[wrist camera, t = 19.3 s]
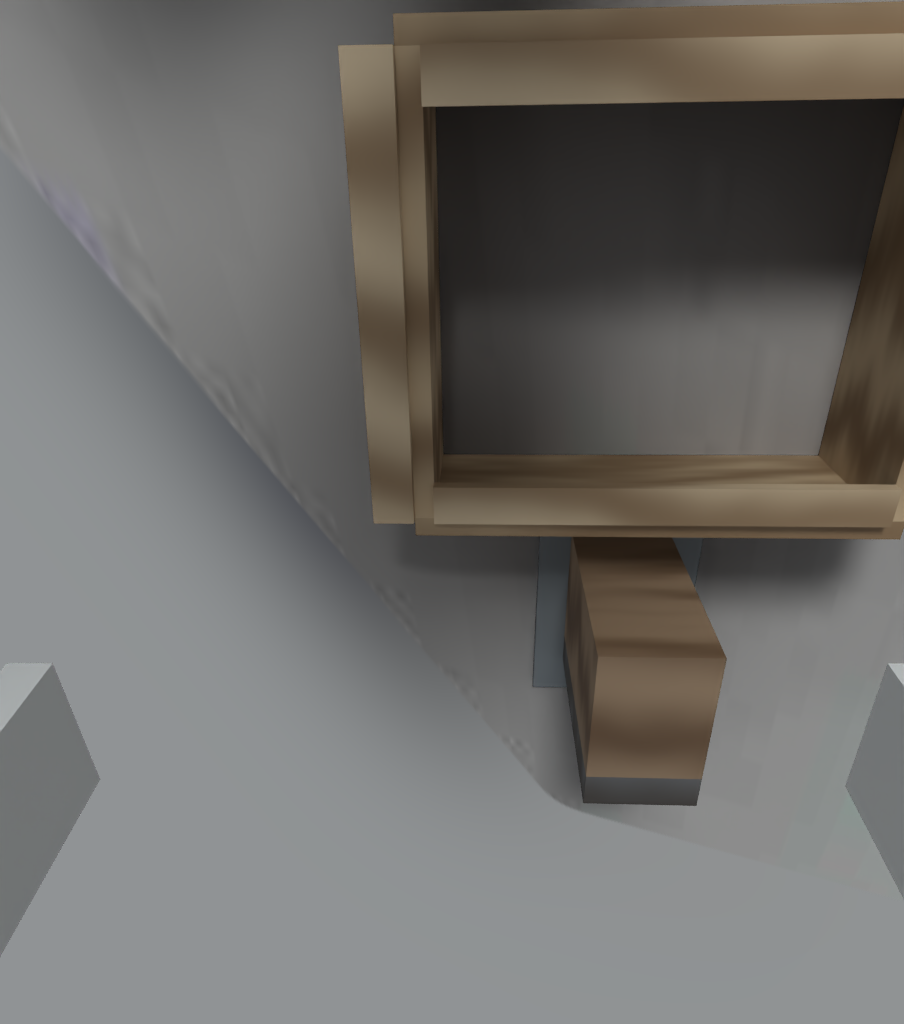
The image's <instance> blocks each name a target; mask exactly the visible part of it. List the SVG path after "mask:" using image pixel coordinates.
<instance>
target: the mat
mask: <svg viewBox="0 0 904 1024" xmlns="http://www.w3.org/2000/svg"><path fill="white" fill-rule="evenodd" d="M672 539H673V541H674V543H675V545H676V547H677V550H678V552H679V554H680V556H681V558H682V561H683V563H684V565H685V567H686V570H687V572H688V574H689V576H690V578H691V581H692V583H693V585H694V587H695V583H696V577H697V571H698V566H699V560H700V554H701V548H702V542H703V538H677V537H672ZM570 550H571V537H556V536H540V545H539V566H538V586H537V606H536V627H535V647H534V667H533V687H567V685H566V678H565V671H564V664H563V647H564V633H565V619H566V605H567V591H568V577H569V564H570Z"/></svg>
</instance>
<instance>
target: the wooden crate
mask: <svg viewBox="0 0 904 1024" xmlns="http://www.w3.org/2000/svg"><path fill="white" fill-rule="evenodd" d="M393 28H394V45H393V44H383V45H338V52H339V65H340V78H341V92H342V105H343V118H344V132H345V145H346V159H347V172H348V185H349V199H350V212H351V226H352V239H353V252H354V266H355V279H356V292H357V306H358V319H359V333H360V346H361V359H362V373H363V386H364V399H365V413H366V426H367V440H368V453H369V466H370V480H371V493H372V507H373V520H374V524H414V521H415V529H416V535H435V536H556V537H677V538H798V539H900V538H901V535H902V532H903V529H904V106H903V110H902V114H901V118H900V122H899V127H898V131H897V135H896V139H895V143H894V147H893V151H892V155H891V159H890V164H889V168H888V172H887V176H886V180H885V184H884V188H883V192H882V196H881V201H880V205H879V209H878V213H877V217H876V221H875V225H874V229H873V233H872V238H871V242H870V246H869V250H868V254H867V258H866V262H865V266H864V270H863V275H862V279H861V283H860V287H859V291H858V295H857V299H856V303H855V308H854V312H853V316H852V320H851V324H850V328H849V332H848V336H847V340H846V345H845V349H844V353H843V357H842V361H841V365H840V369H839V373H838V377H837V382H836V386H835V390H834V394H833V398H832V402H831V406H830V410H829V414H828V419H827V423H826V427H825V431H824V435H823V439H822V443H821V447H820V451H819V456H793V455H494V454H443V419H442V374H441V328H440V283H439V237H438V192H437V147H436V107H450V106H506V105H563V104H620V103H676V102H733V101H789V100H846V99H902V98H904V2H862V3H819V4H776V5H733V6H691V7H648V8H605V9H562V10H520V11H477V12H434V13H393Z"/></svg>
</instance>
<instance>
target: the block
mask: <svg viewBox="0 0 904 1024" xmlns="http://www.w3.org/2000/svg"><path fill="white" fill-rule="evenodd" d="M726 659H727V658H726V656H725V654H724V652H723V649H722V647H721V645H720V643H719V641H718V638H717V636H716V634H715V632H714V629H713V627H712V625H711V623H710V621H709V618H708V616H707V614H706V612H705V610H704V607H703V605H702V603H701V601H700V598H699V596H698V594H697V592H696V590H695V587H694V585H693V583H692V581H691V578H690V576H689V574H688V572H687V570H686V567H685V565H684V563H683V561H682V558H681V556H680V554H679V552H678V550H677V547H676V545H675V543H674V541H673V539H672V537H571V550H570V564H569V577H568V591H567V605H566V619H565V633H564V647H563V664H564V671H565V678H566V685H567V692H568V699H569V706H570V713H571V720H572V727H573V734H574V741H575V748H576V755H577V762H578V769H579V776H580V783H581V790H582V797H583V803H602V804H645V805H687V806H696V805H697V800H698V795H699V790H700V785H701V780H702V776H703V771H704V766H705V761H706V756H707V751H708V747H709V742H710V737H711V732H712V727H713V722H714V717H715V713H716V708H717V703H718V698H719V693H720V688H721V684H722V679H723V674H724V669H725V664H726Z"/></svg>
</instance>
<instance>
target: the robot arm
mask: <svg viewBox="0 0 904 1024" xmlns="http://www.w3.org/2000/svg"><path fill="white" fill-rule="evenodd" d="M99 780H100V778H99V775H98V773H97V770H96V768H95V766H94V763H93V761H92V759H91V756H90V753H89V751H88V748H87V746H86V744H85V741H84V739H83V736H82V734H81V731H80V729H79V726H78V724H77V722H76V719H75V717H74V714H73V712H72V709H71V707H70V705H69V702H68V700H67V697H66V695H65V692H64V690H63V687H62V685H61V683H60V680H59V678H58V675H57V673H56V670H55V668H54V666H53V663H7V664H6V665H5V666H4V667H3V669H2V670H1V671H0V956H1V954H2V952H3V951H4V949H5V947H6V945H7V943H8V942H9V940H10V938H11V936H12V935H13V933H14V931H15V929H16V927H17V926H18V924H19V922H20V920H21V919H22V917H23V915H24V913H25V912H26V910H27V908H28V906H29V905H30V903H31V901H32V899H33V897H34V896H35V894H36V892H37V890H38V888H39V887H40V885H41V883H42V881H43V880H44V878H45V876H46V874H47V873H48V871H49V869H50V867H51V866H52V864H53V862H54V860H55V858H56V857H57V855H58V853H59V851H60V850H61V848H62V846H63V844H64V842H65V841H66V839H67V837H68V835H69V834H70V832H71V830H72V828H73V826H74V825H75V823H76V821H77V819H78V817H79V816H80V814H81V812H82V810H83V809H84V807H85V805H86V803H87V802H88V800H89V798H90V796H91V794H92V793H93V791H94V789H95V787H96V785H97V784H98V782H99ZM846 788H847V790H848V792H849V794H850V796H851V798H852V800H853V802H854V804H855V806H856V808H857V810H858V812H859V813H860V815H861V817H862V819H863V821H864V823H865V825H866V827H867V829H868V831H869V833H870V835H871V837H872V839H873V841H874V842H875V844H876V846H877V848H878V850H879V852H880V854H881V856H882V858H883V860H884V862H885V864H886V866H887V868H888V870H889V871H890V873H891V875H892V877H893V879H894V881H895V883H896V885H897V887H898V889H899V891H900V893H901V895H902V897H903V899H904V664H887V667H886V670H885V673H884V676H883V679H882V682H881V685H880V688H879V690H878V693H877V696H876V699H875V702H874V705H873V708H872V711H871V714H870V716H869V719H868V722H867V725H866V728H865V731H864V734H863V737H862V740H861V742H860V745H859V748H858V751H857V754H856V757H855V760H854V763H853V766H852V768H851V771H850V774H849V777H848V780H847V783H846Z"/></svg>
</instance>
